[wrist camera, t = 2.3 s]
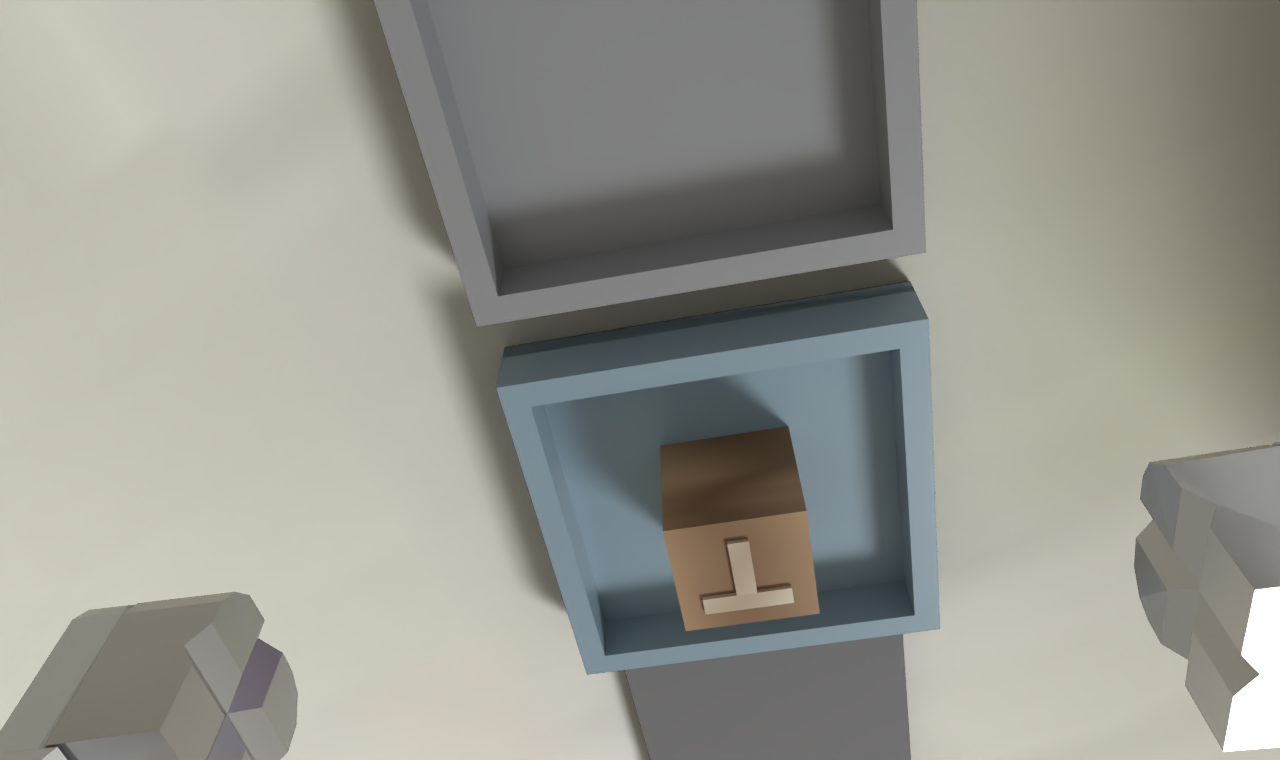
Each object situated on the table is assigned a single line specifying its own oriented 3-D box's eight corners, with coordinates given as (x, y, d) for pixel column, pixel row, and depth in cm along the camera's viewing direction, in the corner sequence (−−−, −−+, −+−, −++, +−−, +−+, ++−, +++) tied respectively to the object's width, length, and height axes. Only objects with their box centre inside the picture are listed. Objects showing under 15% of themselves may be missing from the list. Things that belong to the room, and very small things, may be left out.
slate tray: (909, 281, 29) (928, 319, 27) (924, 582, 35) (940, 629, 34) (505, 347, 30) (496, 388, 28) (589, 627, 37) (586, 674, 35)
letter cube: (788, 426, 31) (807, 513, 28) (801, 524, 33) (820, 616, 30) (660, 445, 31) (662, 534, 28) (680, 541, 34) (685, 634, 30)
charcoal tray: (882, -296, 22) (905, -298, 20) (907, 218, 28) (926, 252, 26) (345, -177, 23) (319, -169, 21) (487, 289, 29) (476, 327, 27)
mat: (896, 605, 36) (901, 622, 35) (908, 778, 41) (913, 796, 41) (622, 642, 37) (621, 659, 36) (668, 806, 42) (668, 823, 42)
